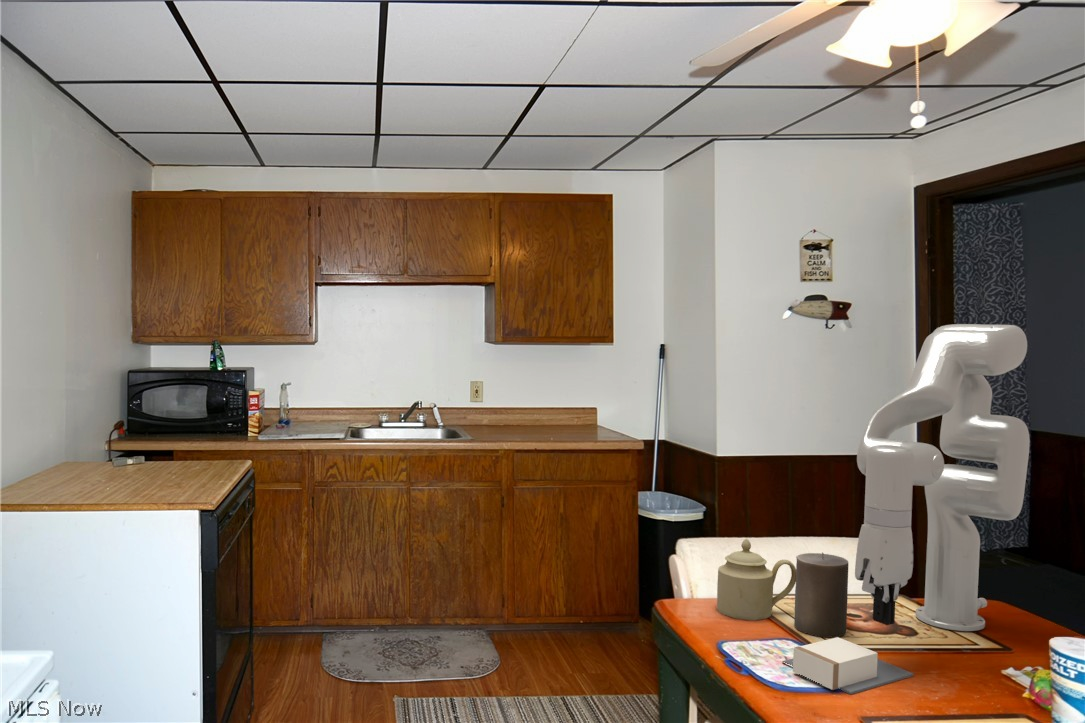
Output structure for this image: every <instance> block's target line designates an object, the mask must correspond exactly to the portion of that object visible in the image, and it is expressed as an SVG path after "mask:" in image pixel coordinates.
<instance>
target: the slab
mask: <svg viewBox="0 0 1085 723" xmlns="http://www.w3.org/2000/svg"><path fill="white" fill-rule="evenodd" d="M792 654H793V657H792V659H793V668H792V672H793V673H795V674H797V675H799V674H800V675H799V676H801V675H803V676H805V677H807V678H806V679H808V678H809V679H808V680H810V679H811V680H810V681H812V680H813V681H812V682H814V681H815V683H816V682H817V683H816V684H818V683H820V684H819V685H821V684H822V685H821V686H822V687H825V688H827V689H830V690H831V691H834V690H839V689H838V688H840V687H844V686H847V685H850V684H854V683H857V682H861V681H864V680H868V679H871V678H874V677H877V659H879V658H878V652H876V651H874V650H871V649H869V648H866V647H864V646H861V645H859V644H857V643H854V642H851V641H849V640H846V639H844V638H841V637H840V636H838V637H831V638H829V639H824V640H820V641H817V642H812V643H809V644H808V643H807V644H805V645H800V646H799V645H798V646H794V647H793V653H792ZM803 676H802V677H803ZM805 677H804V678H805Z"/></svg>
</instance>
